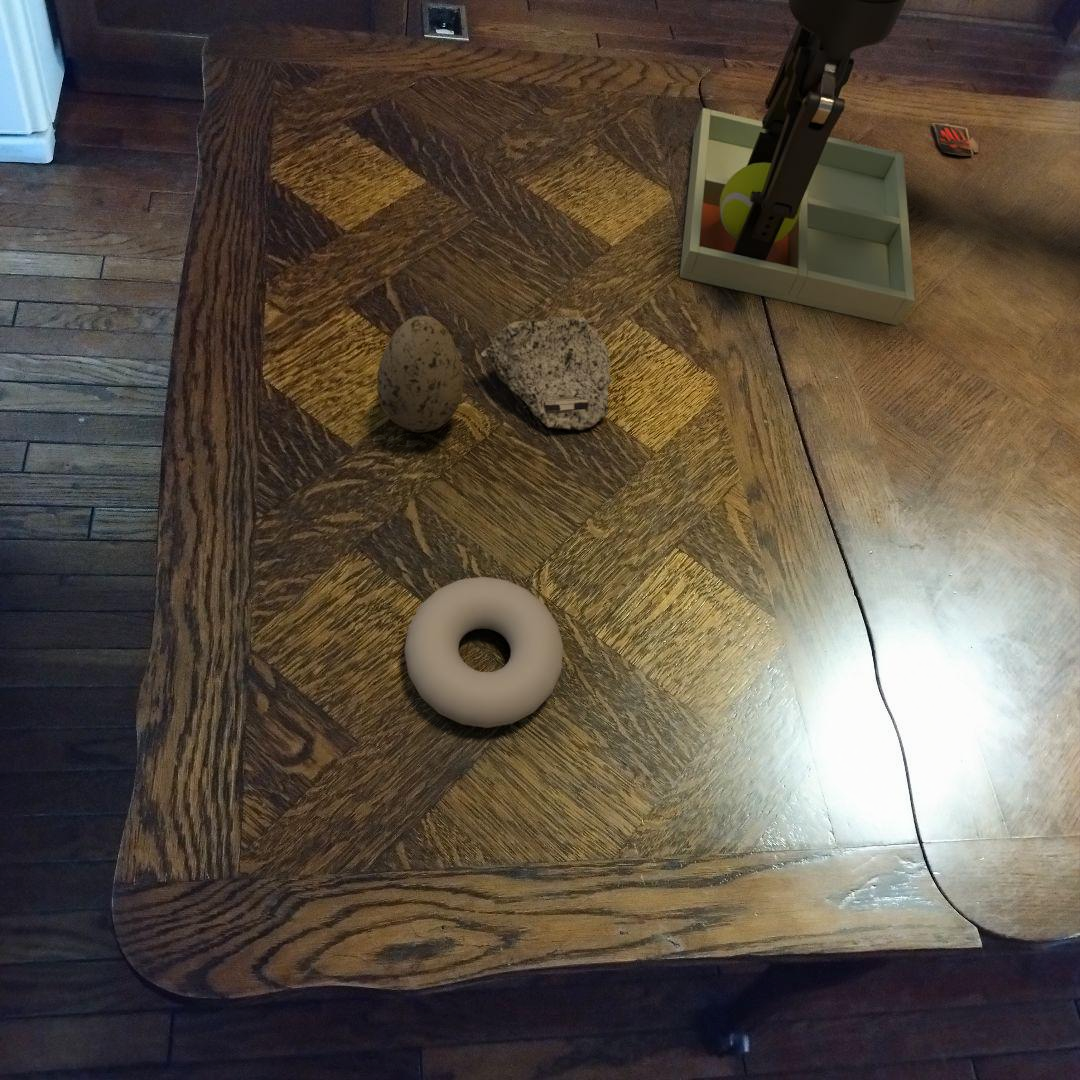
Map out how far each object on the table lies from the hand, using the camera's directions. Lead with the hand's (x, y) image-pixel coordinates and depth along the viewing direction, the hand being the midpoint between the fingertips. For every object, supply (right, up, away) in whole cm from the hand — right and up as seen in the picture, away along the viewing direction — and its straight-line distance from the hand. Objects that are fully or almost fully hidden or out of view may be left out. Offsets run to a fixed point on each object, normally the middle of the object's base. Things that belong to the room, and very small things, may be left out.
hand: (748, 229), depth 85 cm
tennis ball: (0, 0, +1) cm, 1 cm away
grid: (+5, +2, +5) cm, 7 cm away
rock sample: (-16, -15, -9) cm, 24 cm away
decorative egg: (-27, -18, -12) cm, 35 cm away
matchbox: (+24, +13, +15) cm, 31 cm away
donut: (-22, -35, -21) cm, 46 cm away
